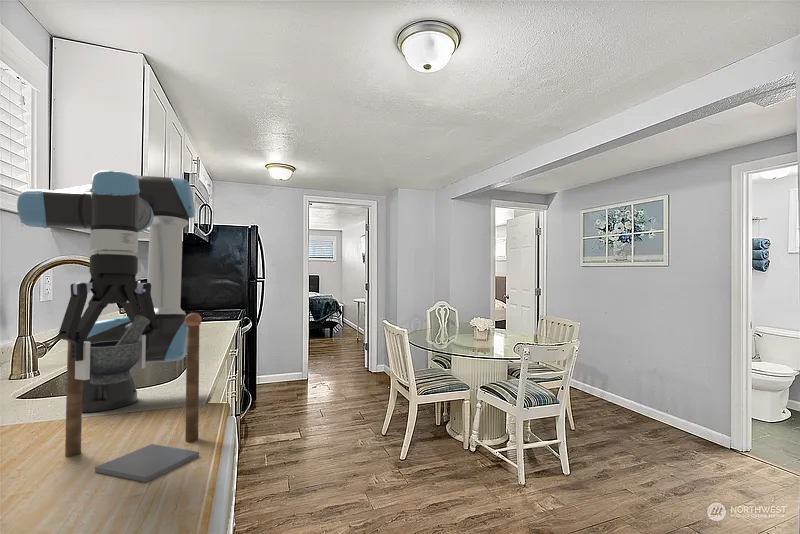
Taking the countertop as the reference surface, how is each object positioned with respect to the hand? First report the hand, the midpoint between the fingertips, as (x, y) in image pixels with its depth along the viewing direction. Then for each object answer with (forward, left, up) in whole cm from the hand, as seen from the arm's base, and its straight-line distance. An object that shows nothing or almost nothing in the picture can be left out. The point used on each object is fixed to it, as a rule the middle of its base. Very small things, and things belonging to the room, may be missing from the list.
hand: (112, 373), depth 78 cm
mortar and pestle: (-1, 0, -2) cm, 2 cm away
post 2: (-13, +6, -16) cm, 21 cm away
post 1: (0, -10, -16) cm, 19 cm away
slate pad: (-1, +8, -16) cm, 18 cm away
